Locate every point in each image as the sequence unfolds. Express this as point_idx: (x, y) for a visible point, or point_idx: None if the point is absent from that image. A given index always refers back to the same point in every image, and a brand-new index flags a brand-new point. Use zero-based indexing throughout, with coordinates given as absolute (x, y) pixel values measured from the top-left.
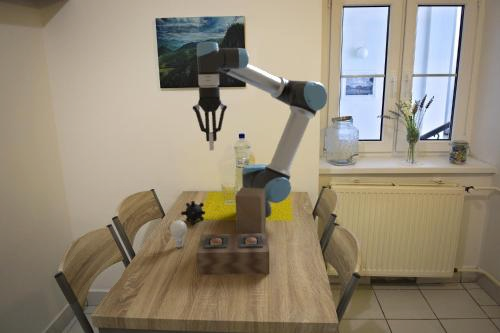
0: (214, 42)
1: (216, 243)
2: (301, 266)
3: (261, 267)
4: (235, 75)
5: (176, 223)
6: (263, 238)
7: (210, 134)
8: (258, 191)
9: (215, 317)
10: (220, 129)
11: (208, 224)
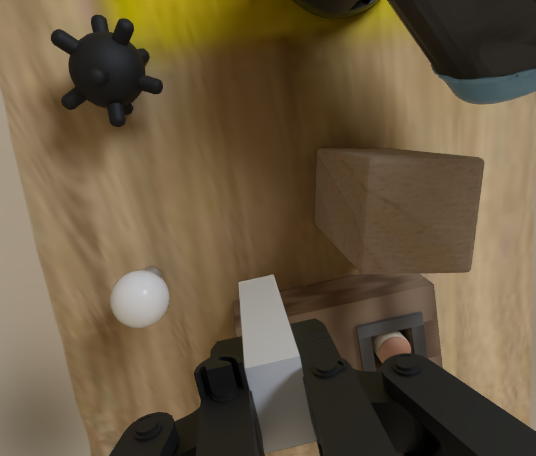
0: None
1: None
2: (488, 310)
3: None
4: None
5: (136, 323)
6: (424, 319)
7: (283, 437)
8: (457, 208)
9: None
10: (439, 447)
11: (181, 95)
